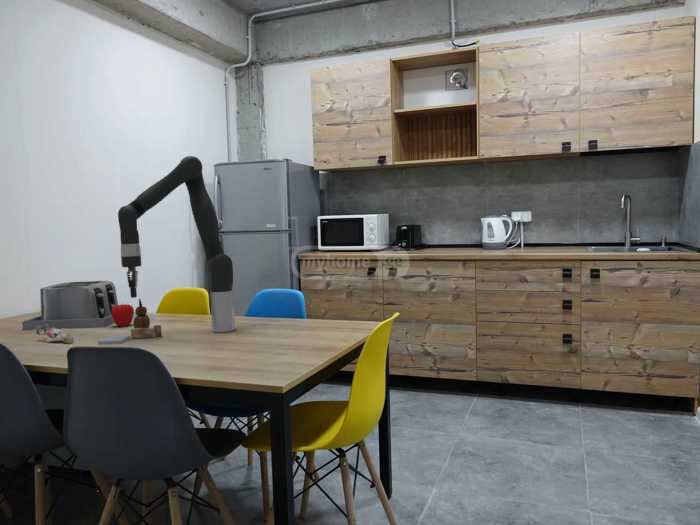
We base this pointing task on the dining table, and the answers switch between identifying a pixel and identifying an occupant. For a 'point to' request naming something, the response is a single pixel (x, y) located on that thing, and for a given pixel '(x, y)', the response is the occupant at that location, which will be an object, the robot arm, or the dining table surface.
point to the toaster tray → (68, 323)
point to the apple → (122, 315)
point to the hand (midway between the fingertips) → (133, 297)
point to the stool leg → (146, 332)
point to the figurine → (54, 334)
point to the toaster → (78, 300)
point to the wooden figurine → (141, 317)
